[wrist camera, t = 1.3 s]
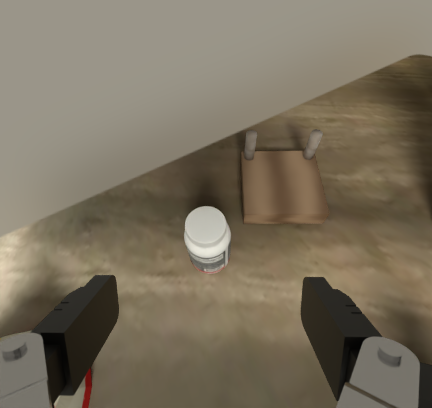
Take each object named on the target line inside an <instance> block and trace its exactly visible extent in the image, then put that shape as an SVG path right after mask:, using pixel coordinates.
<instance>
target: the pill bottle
mask: <svg viewBox="0 0 432 408" xmlns="http://www.w3.org/2000/svg"><path fill="white" fill-rule="evenodd" d="M184 240H185V244H186V247H187V250H188V253H189V256H190V259H191V262H192V264H193V265H194V267H195V268H196V269H198V270H199V271H201V272H203V273H208V274H211V273H216V272H219V271H221V270H222V269H223V268H224V267H225V266H226V265H227V263H228V261H229V258H230V244H231V232H230V228H229V226H228V224H227V223H226V219H225V217H224V215H223V214H222V212H221V211H219V210H218V209H216V208H214V207H210V206H203V207H199V208H196V209H195V210H193V211H192V212H191V213H190V214H189V215H188V217H187V218H186V221H185V233H184Z"/></svg>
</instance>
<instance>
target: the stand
mask: <svg viewBox="0 0 432 408" xmlns="http://www.w3.org/2000/svg"><path fill="white" fill-rule="evenodd" d="M322 135H323V133H322V131H320V130H317V129H315V130H313V131H312V132H311V135H310V137H309V140H308V143H307V146H306V148H305V151H255V146H256V139H257V133H256V132H255V131H253V130H250V131H248V132H247V133H246V142H245V151H242V152H241V162H240V165H241V184H242V204H243V223H244V224H321V223H324V221H325V220H326V218H327V217H328V215H329V214H330V213H329V209H328V205H327V201H326V197H325V193H324V189H323V185H322V181H321V177H320V173H319V169H318V165H317V161H316V157H315V151H316V149H317V147H318V144H319V142H320V139H321V137H322Z"/></svg>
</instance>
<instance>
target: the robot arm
mask: <svg viewBox="0 0 432 408" xmlns="http://www.w3.org/2000/svg"><path fill="white" fill-rule="evenodd" d="M118 314H119V304H118V294H117V283H116V278H115V276H114V275H95V276H94V277H93V278H92V279H91V280H90V281H89V282H88V283H87V284H86V285H85V286H84V287H80V288H78V289H77V290H75V291H73V292H72V293H70V294H69V295H68V296H67V297H66V298H65V299H64V300H63V301H62V302H61V304H58V305H57V306H56V307H55V308H54V311H51V312H50V313H49V314H48V315H47V316H46V317H45V318H44V319H43V320H42V321H41V322H40V323H39V324H38V325H37V326H36V327H35V328H34V329H33V330H32V331H31V332H30V333H24V334H19V335H16V336H13V337H11V338H8V339H6V340H4V341H2V342H1V343H0V408H55V406H54V403H55V401H56V400H57V398H58V397H59V396H74V395H75V393H76V391H77V389H78V388H79V386H80V384H81V383H82V381H83V379H84V377H85V376H86V374H87V372H88V371H89V369H90V367H91V365H92V364H93V362H94V360H95V359H96V357H97V355H98V353H99V352H100V350H101V348H102V347H103V345H104V343H105V341H106V340H107V338H108V336H109V334H110V333H111V331H112V329H113V328H114V326H115V324H116V322H117V319H118ZM301 320H302V324H303V327H304V329H305V331H306V334H307V336H308V338H309V340H310V343H311V345H312V347H313V349H314V351H315V354H316V356H317V358H318V360H319V363H320V365H321V367H322V369H323V372H324V374H325V376H326V378H327V381H328V383H329V385H330V387H331V389H332V392H333V394H334V396H335V398H336V401H338V404H337V407H336V408H432V365H428V364H424V363H421V362H419V360H418V359H417V357H416V356H415V355H414V353H412V352H411V351H410V350H409V349H408V348H406V347H405V346H403V345H402V344H400V343H398V342H396V341H393V340H391V339H388V338H384V337H382V336H381V334H380V333H379V332H378V331H377V330H376V328H375V327H374V326H373V325H372V324H371V322H370V321H369V320H368V319H367V318H366V316H365V315H364V314H362V312H361V310H360V309H359V308H358V307H356V304H355V303H354V302H353V301H352V300H351V298H350V297H349V296H347V295H346V294H344V293H343V292H341V291H340V290H338V289H332V287H331V286H330V285H329V283H328V282H327V281H326V279H325V278H324V277H305V278H304V280H303V288H302V301H301Z"/></svg>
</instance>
